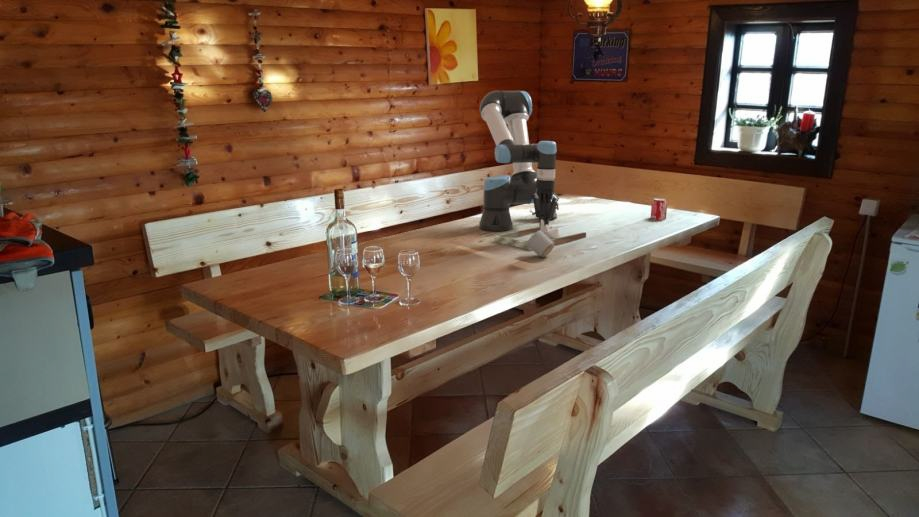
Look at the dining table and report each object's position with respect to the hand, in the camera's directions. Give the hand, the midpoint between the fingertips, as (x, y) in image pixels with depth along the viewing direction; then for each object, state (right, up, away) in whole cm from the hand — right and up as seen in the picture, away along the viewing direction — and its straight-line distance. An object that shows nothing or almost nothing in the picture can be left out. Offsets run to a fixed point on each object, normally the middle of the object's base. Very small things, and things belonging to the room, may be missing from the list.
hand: (543, 234), depth 283 cm
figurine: (+5, +7, +37) cm, 38 cm away
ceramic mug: (-4, -9, -28) cm, 30 cm away
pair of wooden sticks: (-1, -2, -1) cm, 3 cm away
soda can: (+59, +6, +35) cm, 69 cm away
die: (+3, -2, 0) cm, 3 cm away
